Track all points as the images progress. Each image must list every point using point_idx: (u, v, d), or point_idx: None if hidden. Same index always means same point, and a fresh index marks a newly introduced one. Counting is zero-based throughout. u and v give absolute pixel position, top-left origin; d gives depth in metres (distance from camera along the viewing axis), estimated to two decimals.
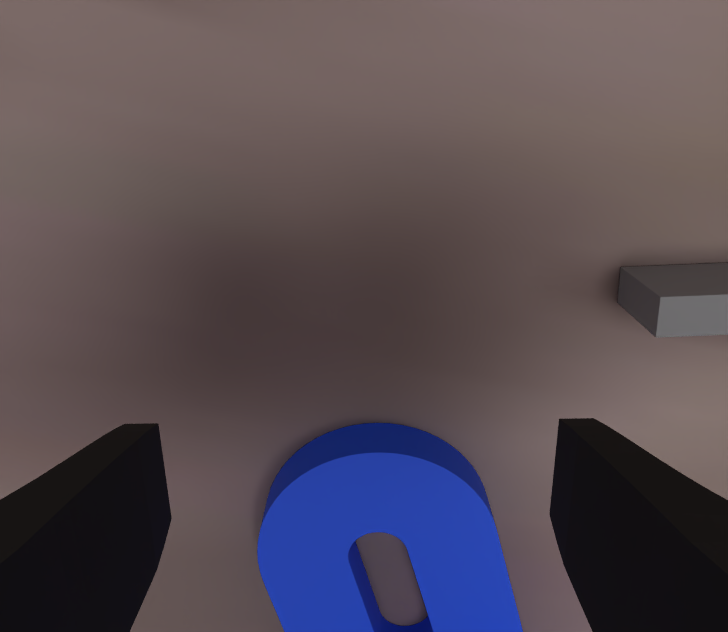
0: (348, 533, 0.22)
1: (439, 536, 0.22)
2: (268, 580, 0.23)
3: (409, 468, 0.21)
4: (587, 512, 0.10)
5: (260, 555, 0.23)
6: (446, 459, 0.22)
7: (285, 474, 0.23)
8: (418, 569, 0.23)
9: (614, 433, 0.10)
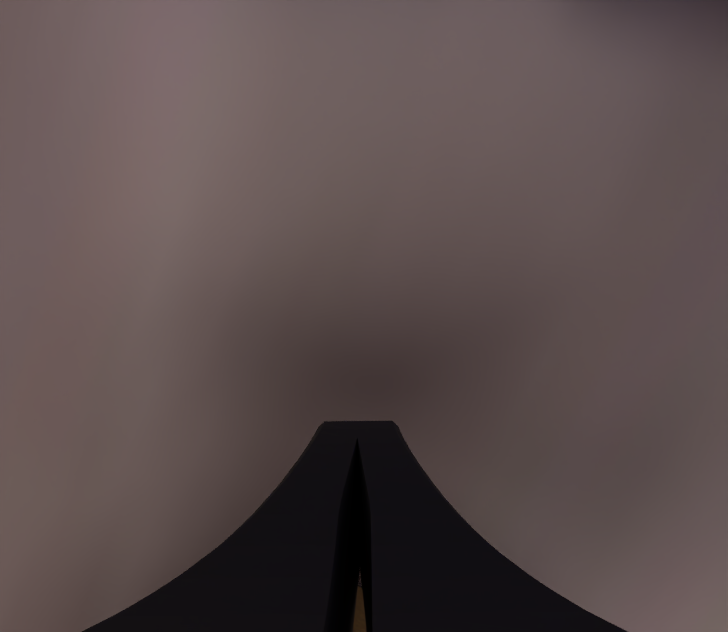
0: None
1: None
2: None
3: None
4: (361, 514, 0.10)
5: None
6: None
7: None
8: None
9: (393, 436, 0.10)
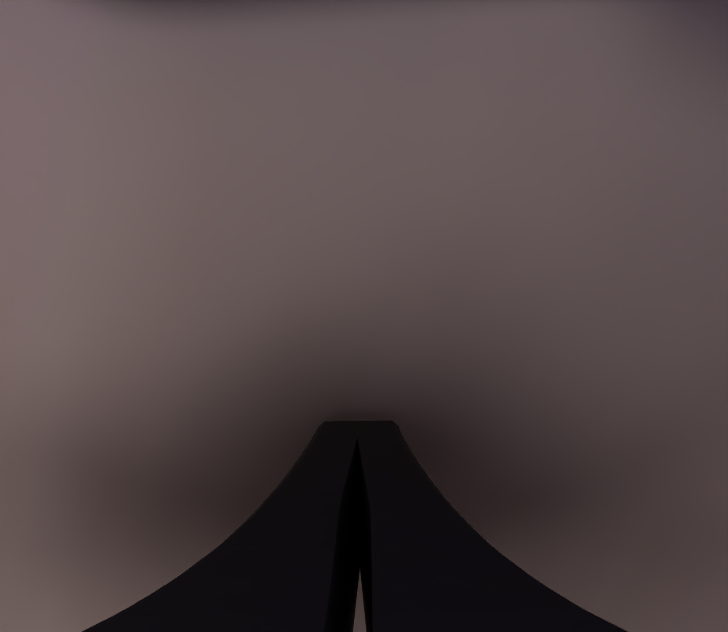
0: None
1: None
2: None
3: None
4: (361, 514, 0.10)
5: None
6: None
7: None
8: None
9: (393, 435, 0.10)
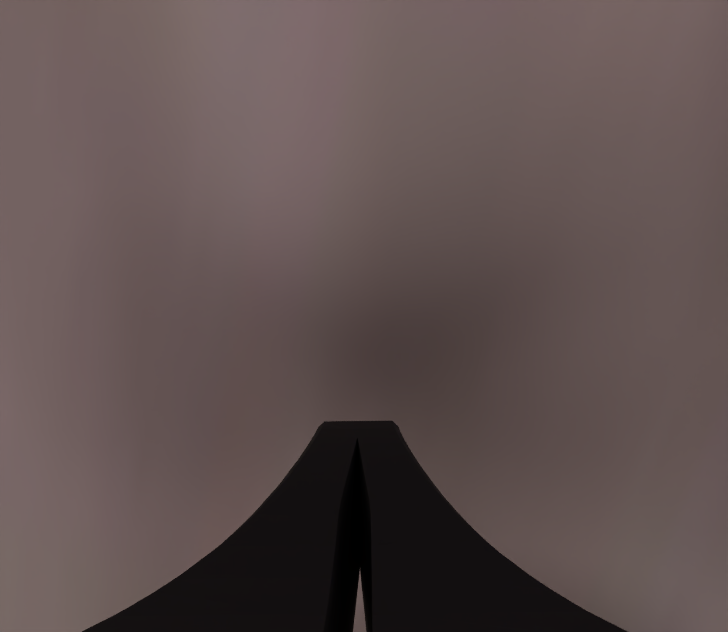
0: None
1: None
2: None
3: None
4: (361, 514, 0.10)
5: None
6: None
7: None
8: None
9: (393, 435, 0.10)
